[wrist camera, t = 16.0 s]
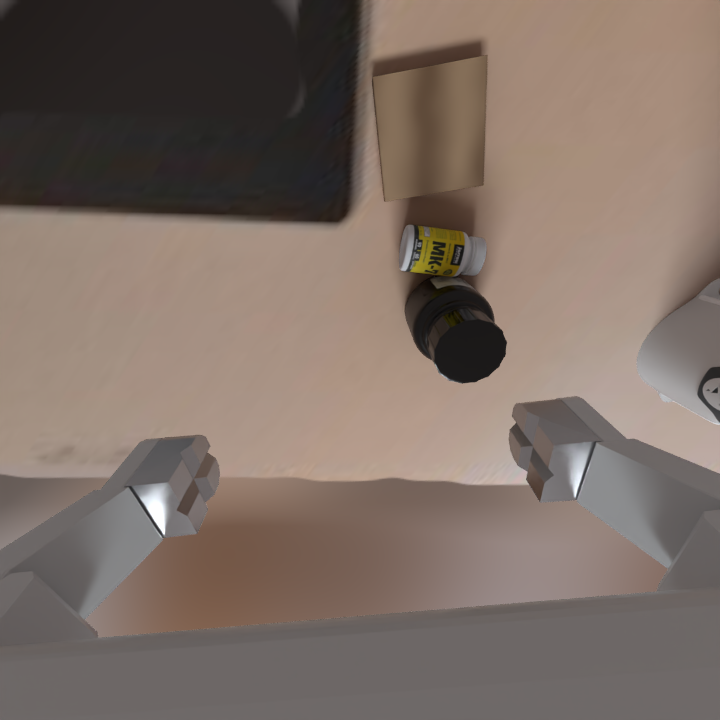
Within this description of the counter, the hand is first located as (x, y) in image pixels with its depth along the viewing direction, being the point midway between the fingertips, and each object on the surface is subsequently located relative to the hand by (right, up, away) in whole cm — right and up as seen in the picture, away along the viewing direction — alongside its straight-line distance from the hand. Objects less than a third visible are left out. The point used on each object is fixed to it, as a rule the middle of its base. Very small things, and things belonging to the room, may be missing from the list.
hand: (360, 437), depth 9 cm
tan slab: (+7, +24, +24) cm, 35 cm away
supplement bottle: (+4, +14, +26) cm, 30 cm away
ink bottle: (+10, +9, +32) cm, 35 cm away
